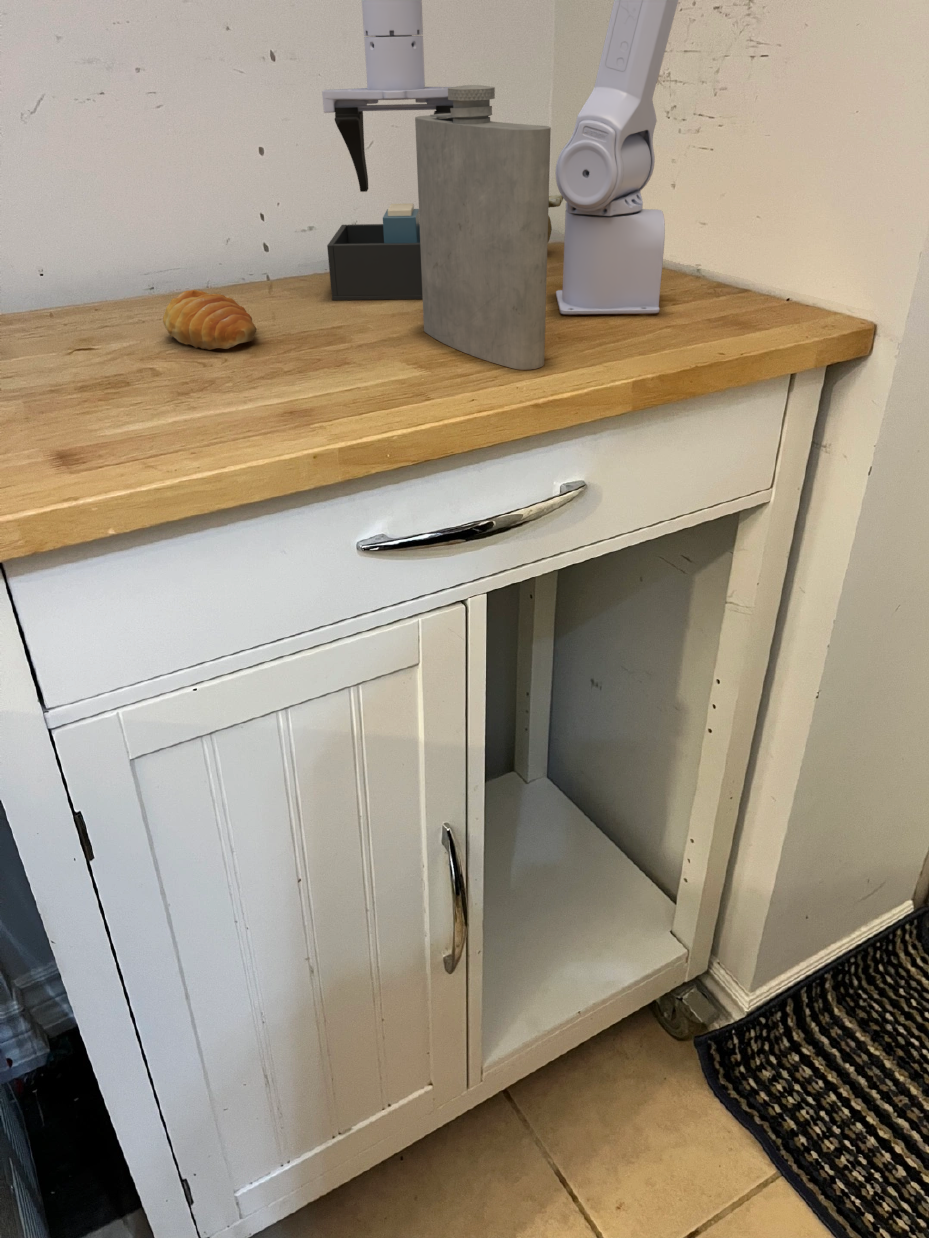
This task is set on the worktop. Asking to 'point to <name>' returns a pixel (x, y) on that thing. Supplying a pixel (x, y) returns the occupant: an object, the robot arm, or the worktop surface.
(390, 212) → the juice carton
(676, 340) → the worktop surface
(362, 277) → the bin
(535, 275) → the hip flask
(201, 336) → the pastry
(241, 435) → the worktop surface
